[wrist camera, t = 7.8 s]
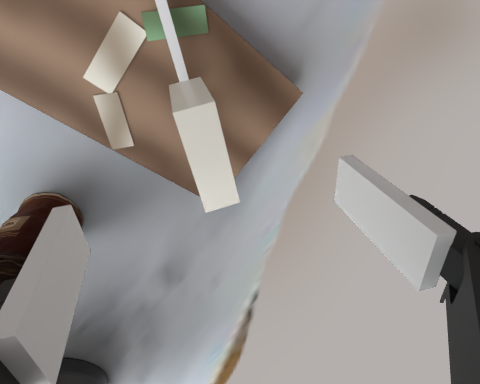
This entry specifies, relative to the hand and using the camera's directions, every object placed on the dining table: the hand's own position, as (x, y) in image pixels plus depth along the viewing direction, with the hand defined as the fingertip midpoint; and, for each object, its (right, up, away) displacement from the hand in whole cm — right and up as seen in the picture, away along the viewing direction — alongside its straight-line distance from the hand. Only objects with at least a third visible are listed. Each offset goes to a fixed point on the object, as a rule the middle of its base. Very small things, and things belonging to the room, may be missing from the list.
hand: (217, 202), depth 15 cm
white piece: (-4, +10, +11) cm, 16 cm away
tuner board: (-8, +12, +12) cm, 19 cm away
